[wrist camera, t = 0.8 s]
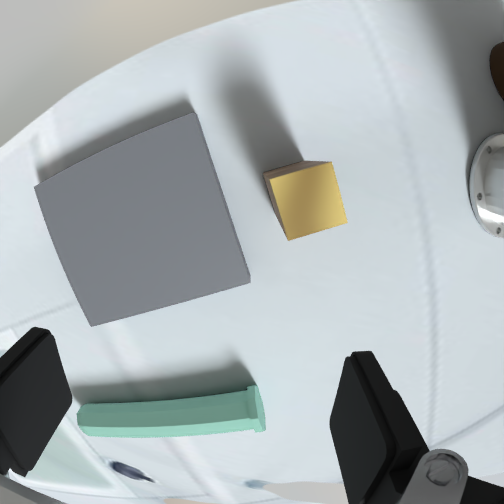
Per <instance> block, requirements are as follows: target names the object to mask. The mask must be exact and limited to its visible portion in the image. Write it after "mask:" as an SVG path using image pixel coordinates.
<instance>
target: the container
mask: <svg viewBox="0 0 504 504" xmlns="http://www.w3.org/2000/svg"><path fill="white" fill-rule="evenodd" d="M77 422H78V426H79V427H80V429H81V430H82V431H83V433H85V434H86V435H88V436H98V437H132V438H142V437H177V436H193V435H206V434H217V433H226V432H235V431H243V430H250V429H254V430H255V432H262V431H265V430H266V427H265V413H264V408H263V402H262V399H261V396H260V393H259V389H258V386H256V385H253V386H247V390H246V391H239V392H233V393H226V394H219V395H211V396H203V397H194V398H185V399H175V400H163V401H149V402H132V403H102V404H84V405H83V406H81V408H80V409H79V411H78V413H77Z"/></svg>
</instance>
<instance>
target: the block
mask: <svg viewBox="0 0 504 504" xmlns="http://www.w3.org/2000/svg"><path fill="white" fill-rule="evenodd" d="M263 176H264V179H265V182H266V186H267V189H268V192H269V195H270V198H271V202H272V205H273V208H274V212H275V215H276V217H277V219H278V221H279V223H280V225H281V227H282V229H283V231H284V233H285V235H286V237H287V239H288V241H289V240H293V239H296V238H299V237H303V236H306V235H309V234H312V233H316V232H319V231H322V230H325V229H329V228H332V227H335V226H339V225H342V224H345V223H347V219H346V214H345V210H344V206H343V202H342V198H341V194H340V191H339V187H338V183H337V179H336V176H335V172H334V168H333V165H332V162H323V161H302V162H298V163H294V164H291V165H288V166H284V167H281V168H277V169H274V170H271V171H267V172H264V173H263Z"/></svg>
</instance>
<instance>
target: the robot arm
mask: <svg viewBox="0 0 504 504" xmlns="http://www.w3.org/2000/svg"><path fill="white" fill-rule="evenodd" d="M470 198H471V203H472V208H473V211H474V213H475V216H476V218H477V220H478V222H479V224H480V225H481V226H482V228H483V229H484V230H485V231H486V232H488V233H489V234H491V235H493V236H495V237H498V238H504V133H498V134H493V135H491V136H489V137H488V138H486V139H485V140H484V141H483V142H482V144H481V145H480V147H479V148H478V150H477V152H476V154H475V156H474V159H473V163H472V166H471V173H470ZM71 404H72V394H71V391H70V388H69V385H68V382H67V379H66V376H65V373H64V370H63V366H62V363H61V360H60V356H59V353H58V349H57V345H56V342H55V338H54V336H53V335H52V334H51V332H50V331H49V330H48V329H43V328H38V327H33V328H31V329H30V330H29V331H28V332H27V333H26V334H25V335H24V336H23V337H22V338H20V339H19V340H18V341H17V342H16V343H15V344H14V345H13V346H12V347H11V348H10V349H9V350H8V351H7V352H6V353H5V354H4V355H3V356H2V357H1V358H0V504H67V503H64V502H61V501H59V500H56V499H54V498H51V497H49V496H46V495H44V494H41V493H39V492H37V491H34V490H32V489H30V488H28V487H26V486H23V485H21V484H19V483H17V482H15V481H13V480H11V479H10V478H9V473H8V470H9V469H10V468H11V469H12V471H13V472H15V473H17V474H19V475H21V476H23V477H25V476H26V475H27V473H28V471H31V470H32V469H33V468H34V466H35V464H36V463H37V461H38V459H39V457H40V456H41V454H42V452H43V450H44V449H45V447H46V445H47V444H48V442H49V440H50V439H51V437H52V435H53V434H54V432H55V430H56V429H57V427H58V425H59V424H60V422H61V420H62V419H63V417H64V415H65V414H66V412H67V411H68V409H69V407H70V406H71ZM330 430H331V434H332V438H333V442H334V446H335V450H336V454H337V458H338V462H339V466H340V470H341V474H342V478H343V482H344V486H345V490H346V494H347V498H348V502H349V504H504V487H500V486H497V485H494V484H491V483H488V482H485V481H482V480H479V479H476V478H473V477H470V476H468V467H467V463H466V462H465V460H464V459H463V458H462V457H461V456H460V455H459V454H457V453H455V452H453V451H451V450H446V449H435V450H432V451H429V449H428V447H427V445H426V443H425V441H424V439H423V437H422V435H421V434H420V432H419V430H418V428H417V426H416V424H415V422H414V420H413V418H412V417H411V415H410V413H409V411H408V409H407V407H406V406H405V404H404V402H403V400H402V398H401V396H400V395H399V393H398V392H397V391H396V390H393V388H392V387H391V385H390V383H389V381H388V379H387V377H386V376H385V374H384V372H383V370H382V368H381V367H380V365H379V363H378V361H377V360H376V358H375V356H374V354H373V353H372V352H371V351H358V352H352V354H351V356H350V357H346V358H345V362H344V366H343V370H342V374H341V378H340V383H339V387H338V390H337V394H336V398H335V402H334V406H333V409H332V413H331V416H330Z"/></svg>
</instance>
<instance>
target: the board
mask: <svg viewBox="0 0 504 504" xmlns="http://www.w3.org/2000/svg"><path fill="white" fill-rule="evenodd" d="M34 189H35V192H36V195H37V199H38V202H39V205H40V208H41V211H42V214H43V217H44V220H45V222H46V225H47V228H48V231H49V234H50V236H51V239H52V242H53V244H54V247H55V249H56V252H57V254H58V257H59V259H60V262H61V264H62V266H63V269H64V271H65V273H66V276H67V278H68V280H69V283H70V285H71V287H72V289H73V291H74V293H75V296H76V298H77V300H78V302H79V304H80V306H81V308H82V310H83V312H84V314H85V316H86V318H87V320H88V322H89V324H90V326H91V327H92V326H96V325H100V324H104V323H108V322H111V321H115V320H119V319H123V318H127V317H130V316H134V315H138V314H142V313H145V312H149V311H153V310H156V309H160V308H164V307H167V306H171V305H174V304H178V303H182V302H185V301H189V300H192V299H196V298H199V297H203V296H206V295H210V294H213V293H217V292H220V291H224V290H227V289H231V288H234V287H238V286H241V285H244V284H248V283H250V273H249V270H248V267H247V264H246V261H245V258H244V255H243V252H242V249H241V246H240V243H239V240H238V237H237V234H236V231H235V228H234V225H233V222H232V219H231V216H230V213H229V210H228V207H227V204H226V201H225V198H224V195H223V192H222V189H221V186H220V183H219V180H218V177H217V174H216V171H215V168H214V165H213V162H212V159H211V156H210V153H209V150H208V147H207V144H206V140H205V137H204V134H203V131H202V128H201V125H200V122H199V119H198V116H197V115H196V114H195V113H194V112H193V113H190V114H187V115H185V116H182V117H179V118H177V119H174V120H171V121H169V122H166V123H164V124H161V125H159V126H156V127H154V128H151V129H149V130H146V131H144V132H142V133H139V134H137V135H135V136H132V137H130V138H128V139H126V140H123V141H121V142H119V143H117V144H115V145H112V146H110V147H108V148H106V149H104V150H102V151H100V152H98V153H96V154H94V155H92V156H90V157H88V158H86V159H84V160H82V161H80V162H78V163H76V164H74V165H72V166H70V167H68V168H67V169H65V170H63V171H61V172H59V173H57V174H56V175H54V176H52V177H50V178H48V179H47V180H45V181H43V182H41V183H40V184H38V185H36V186H35V187H34Z"/></svg>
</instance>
